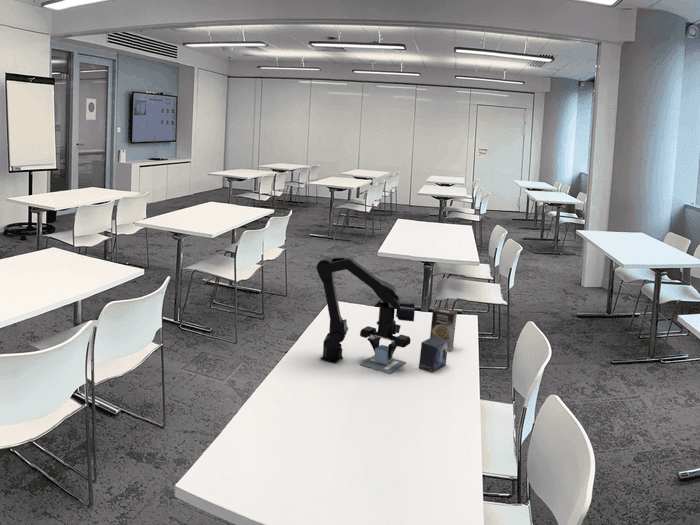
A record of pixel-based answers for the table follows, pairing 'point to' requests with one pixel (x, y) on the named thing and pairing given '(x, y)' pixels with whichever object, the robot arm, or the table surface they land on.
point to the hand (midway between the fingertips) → (383, 357)
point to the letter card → (383, 365)
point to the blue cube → (382, 354)
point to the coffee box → (444, 325)
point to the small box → (433, 353)
